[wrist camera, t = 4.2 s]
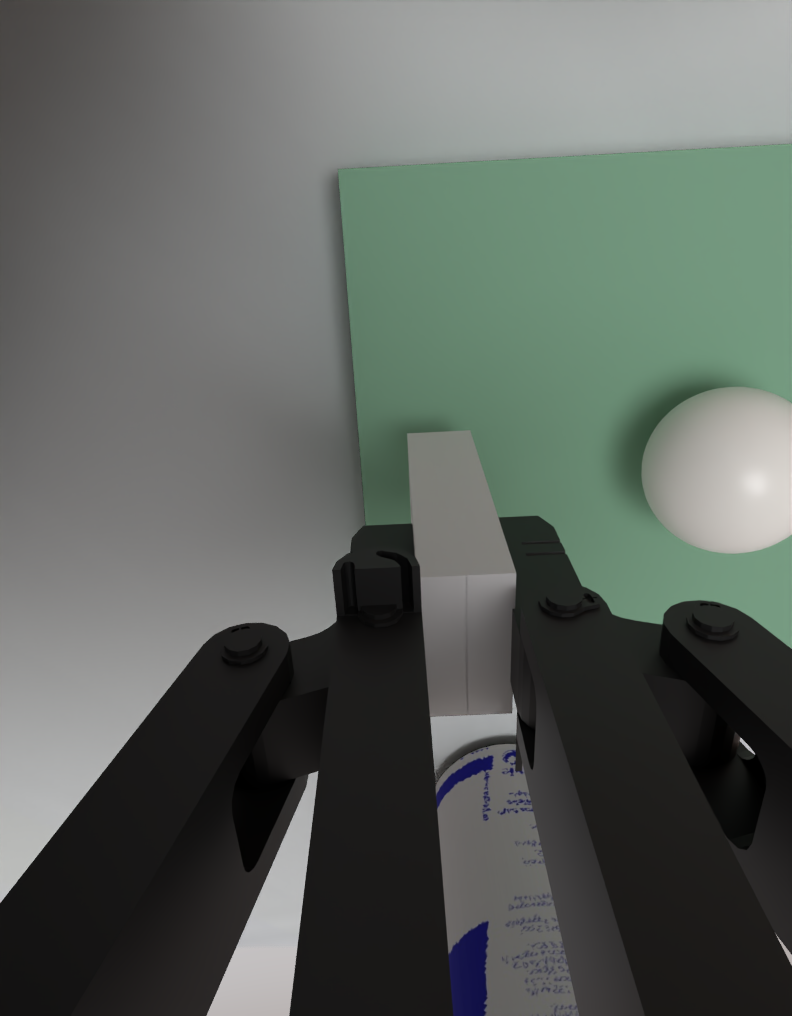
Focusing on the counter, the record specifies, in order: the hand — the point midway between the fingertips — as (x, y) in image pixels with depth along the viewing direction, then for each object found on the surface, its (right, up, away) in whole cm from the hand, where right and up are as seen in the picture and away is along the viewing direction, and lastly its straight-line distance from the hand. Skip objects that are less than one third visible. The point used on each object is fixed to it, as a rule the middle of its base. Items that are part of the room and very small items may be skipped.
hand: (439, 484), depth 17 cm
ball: (+7, +1, +2) cm, 7 cm away
